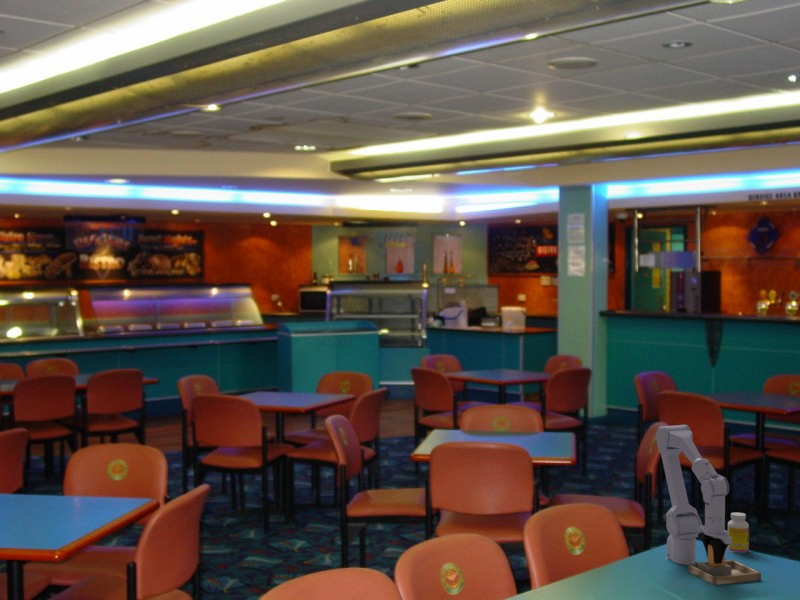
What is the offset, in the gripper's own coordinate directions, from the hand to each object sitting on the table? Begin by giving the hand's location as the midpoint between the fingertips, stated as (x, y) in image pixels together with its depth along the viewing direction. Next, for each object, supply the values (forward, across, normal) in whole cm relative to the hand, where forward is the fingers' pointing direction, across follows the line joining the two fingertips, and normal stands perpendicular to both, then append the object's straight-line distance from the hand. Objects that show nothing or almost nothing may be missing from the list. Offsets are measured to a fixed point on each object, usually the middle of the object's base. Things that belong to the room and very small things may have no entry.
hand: (714, 561), depth 304 cm
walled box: (+5, 0, -3) cm, 6 cm away
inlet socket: (+4, 0, 0) cm, 4 cm away
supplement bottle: (+6, +22, -24) cm, 33 cm away
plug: (+2, 0, 0) cm, 2 cm away
